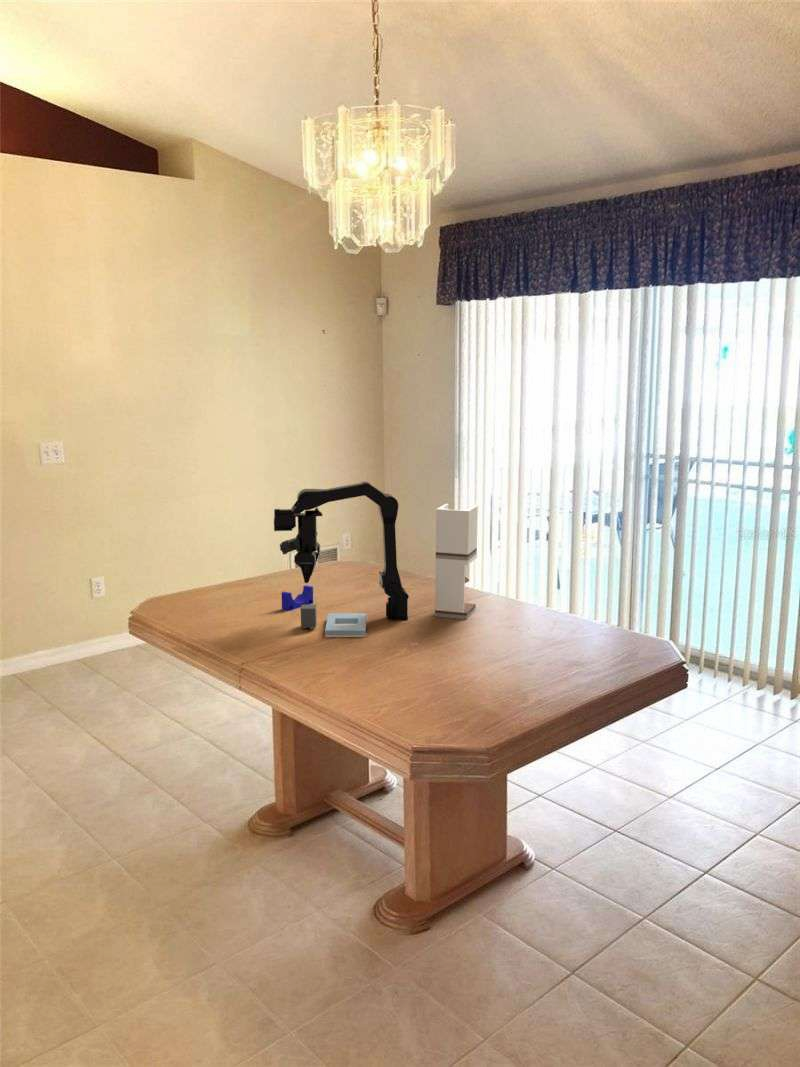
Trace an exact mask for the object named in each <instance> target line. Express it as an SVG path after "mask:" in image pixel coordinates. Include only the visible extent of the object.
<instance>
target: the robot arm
mask: <svg viewBox="0 0 800 1067" xmlns="http://www.w3.org/2000/svg"><path fill="white" fill-rule="evenodd" d="M364 496H365V497H367V498H368V499H370V500H371V501H372V502H373V503H374V504H376V505H377V507H378V513H379V516H380V520H381V523H382V541H383V542H382V543H383V569H382V570H383V571H378V575H379V582H378V584H379V585H380V588H381V589H383V591H384V594H386V595H387V596H388V597H387V601H386V602H385V616H386V618H387V621H390V620H391V621H408V620H409V616H408V614H409V613H408V610H409V608H408V607H409V606H408V603H409V602H408V600H409V597H410V596H409V594H408V592H407V591H406V589H405V588H404V587H403V586H402V582H401V577H400V573H399V570H398V563H397V562H398V560H397V538H396V523H397V522H396V521H397V518H398V512H399V502H398V500H397V499H396V497H395V496H393V495H392V494H390V493H384V492H382V491H381V490H379V489H378V488H377V487H374V486H373V485H372V484H371V483H370V482H369V481H362V482H358V483H353V484H347V485H342V486H337V487H330V488H325V489H323V488H303V489H302V490H301V489H300V490H299V492H298V493H297V496H296V501H295V502H294V504H292V506H291V508H288V509H286V508H285V509H281V508H274V509H273V511H274V512H273V513H274V514H273V516H274V517H273V531H274V532H290V531H293V529H295V528H297V535H296V536H295V537H293V538H290V539H286V540H285V541H284V540H283V541H281V543H280V544H279V548H280V549H279V550H280V551H281V553H282V555H284V556H285V555H287V554H288V553H291V552H293V551H294V552H295V551H296V552H297V553H295V555H294V563H295V565H297V566H298V567H299V568H300V570H301V572H302V573H301V574H302V576H303V577H302V578H303V581H304V583H305V584H309V582H310V579H311V577H312V576H313V572H314V570H315V566H316V565H317V561H318V559H319V556H320V552H321V544H320V543H319V542H318V541H317V540H318V539H317V538H318V531H317V517H323V513H322V511H320V510H319V508H318V507H321V506H322V505H325V504H328V503H331V502H336V501H341V500H346V499H353V498H357V497H364ZM296 518H297V519H296Z"/></svg>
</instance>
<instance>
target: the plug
mask: <svg viewBox="0 0 800 1067" xmlns="http://www.w3.org/2000/svg"><path fill="white" fill-rule="evenodd" d="M300 627H301V629H303V628H304V629H307V628H309V629H310V630H313V629H314V628H315V629H316V627H317V605H316V604H309V605H302V606H301V607H300Z"/></svg>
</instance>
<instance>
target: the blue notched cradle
mask: <svg viewBox="0 0 800 1067" xmlns="http://www.w3.org/2000/svg"><path fill="white" fill-rule="evenodd" d="M302 605H314V586H312V585H307V584H306V585H303V588H302V593H300V594H297V596H295V598H293V596H292V592H290V591H282V592H281V610H283V611H287V612H290V611H293V610H296V609H299V608H300V609H301V606H302Z"/></svg>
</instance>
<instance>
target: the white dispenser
mask: <svg viewBox="0 0 800 1067" xmlns="http://www.w3.org/2000/svg"><path fill="white" fill-rule="evenodd" d="M449 505H450V504H449V503H445V504H443V505H441V506H440V507H437V508H436V510H435V570H434V571H435V572H434V573H435V576H434V577H435V578H434V579H435V580H434V582H435V583H434V616H435V617H439V618H448V619H449V618H451V619H461V620H468V619H469V618H470V617H471V615H472V614H473V613H475V612H476V609H477V608H476V603H468V602H465V594H466V593H465V590H466V589H465V588H466V587H465V585H466V584H467V583H468V582H470V574H471V573H470V571H471V570H470V569H471V568H470V567H471V566H470V564H471V563H472V562H473V561H474V560H475V559H476V558H478V555H477V554H478V514H479V513H478V512H479V510H478V506H479V505H477V504H475V505H473V506H472V507H470V508H467V509H450V508H449ZM469 616H470V617H469Z"/></svg>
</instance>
